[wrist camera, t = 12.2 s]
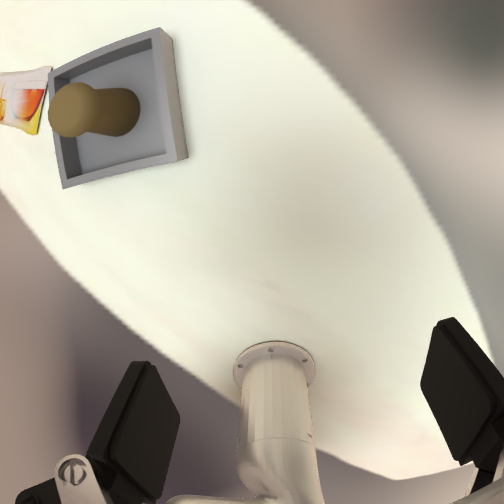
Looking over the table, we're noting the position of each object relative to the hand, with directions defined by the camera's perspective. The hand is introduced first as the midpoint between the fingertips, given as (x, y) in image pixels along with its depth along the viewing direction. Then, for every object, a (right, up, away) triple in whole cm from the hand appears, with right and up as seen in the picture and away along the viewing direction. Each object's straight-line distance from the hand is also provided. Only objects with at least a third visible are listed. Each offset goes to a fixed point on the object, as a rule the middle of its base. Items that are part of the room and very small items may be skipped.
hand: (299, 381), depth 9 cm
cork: (-17, +20, +20) cm, 34 cm away
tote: (-17, +21, +21) cm, 34 cm away
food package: (-43, +29, +20) cm, 55 cm away
